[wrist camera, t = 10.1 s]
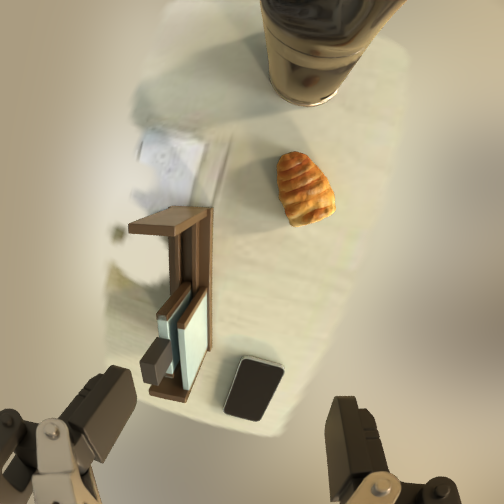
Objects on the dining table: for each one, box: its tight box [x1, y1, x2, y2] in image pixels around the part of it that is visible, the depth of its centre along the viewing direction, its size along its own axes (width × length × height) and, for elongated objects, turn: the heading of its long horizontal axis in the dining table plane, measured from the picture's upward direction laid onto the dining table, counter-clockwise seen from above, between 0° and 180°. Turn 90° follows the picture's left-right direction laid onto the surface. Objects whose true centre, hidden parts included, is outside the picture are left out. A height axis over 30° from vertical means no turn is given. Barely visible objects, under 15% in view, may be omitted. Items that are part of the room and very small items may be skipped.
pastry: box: [277, 152, 336, 227], centre depth 35 cm, size 9×7×4 cm
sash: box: [140, 281, 192, 386], centre depth 34 cm, size 2×9×15 cm, turn 177°
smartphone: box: [223, 356, 285, 422], centre depth 46 cm, size 7×1×15 cm
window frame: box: [128, 206, 213, 403], centre depth 35 cm, size 6×22×14 cm, turn 177°
